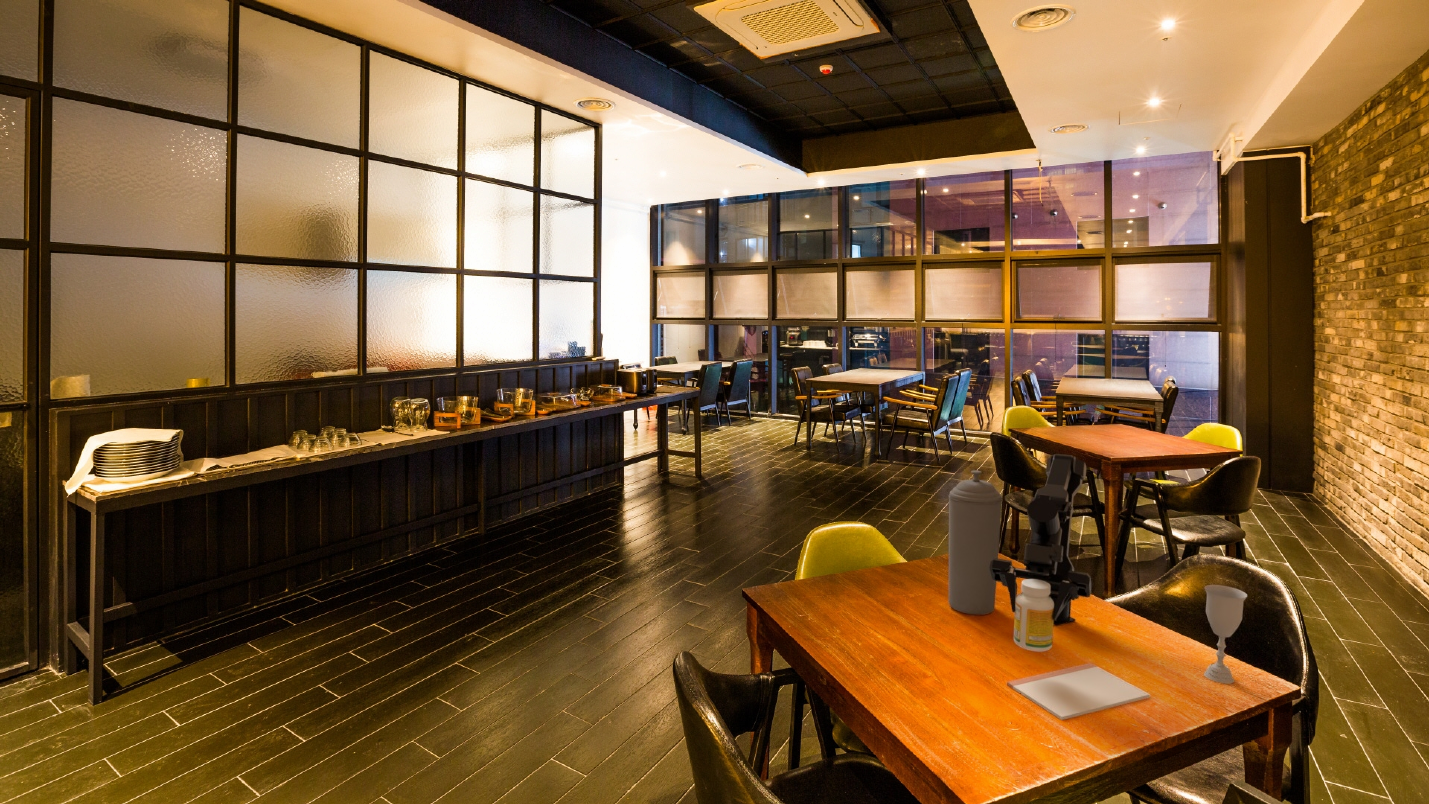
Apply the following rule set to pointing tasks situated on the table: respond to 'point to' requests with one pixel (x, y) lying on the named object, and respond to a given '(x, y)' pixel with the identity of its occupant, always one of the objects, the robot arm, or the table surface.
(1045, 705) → the notepad
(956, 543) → the canister
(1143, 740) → the table surface
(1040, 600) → the supplement bottle
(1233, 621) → the chalice
